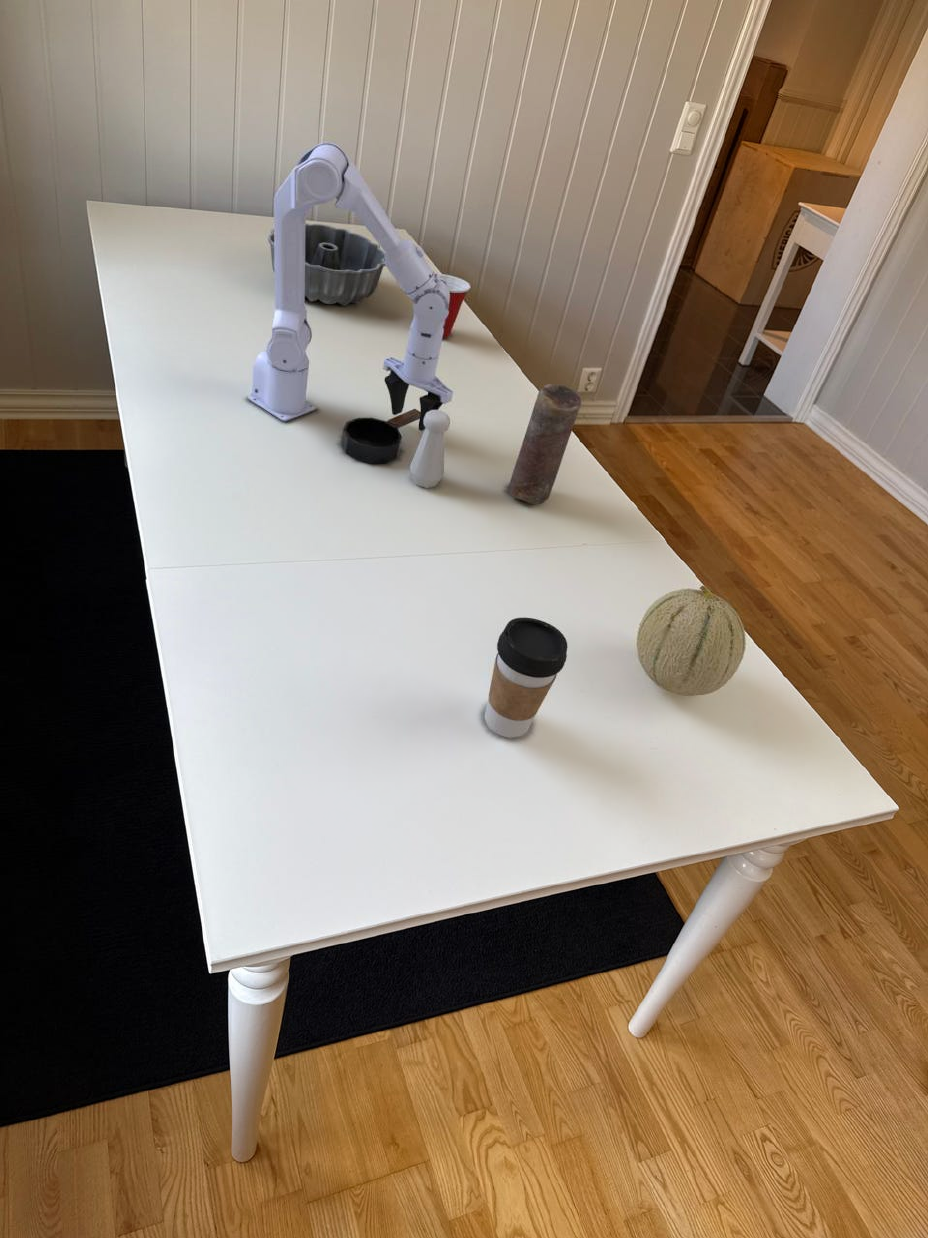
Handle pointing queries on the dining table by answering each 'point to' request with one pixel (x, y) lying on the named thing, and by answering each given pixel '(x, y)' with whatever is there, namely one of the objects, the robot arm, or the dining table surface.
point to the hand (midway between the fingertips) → (410, 420)
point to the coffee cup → (523, 674)
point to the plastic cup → (454, 300)
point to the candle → (544, 443)
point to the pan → (375, 437)
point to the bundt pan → (338, 264)
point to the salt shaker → (430, 450)
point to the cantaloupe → (691, 642)
